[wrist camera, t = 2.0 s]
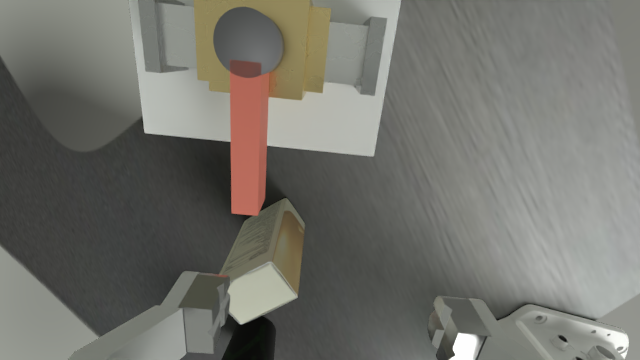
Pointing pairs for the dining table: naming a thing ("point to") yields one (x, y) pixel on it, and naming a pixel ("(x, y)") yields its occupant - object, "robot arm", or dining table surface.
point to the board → (283, 114)
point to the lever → (248, 98)
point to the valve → (299, 44)
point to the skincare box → (265, 262)
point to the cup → (252, 341)
